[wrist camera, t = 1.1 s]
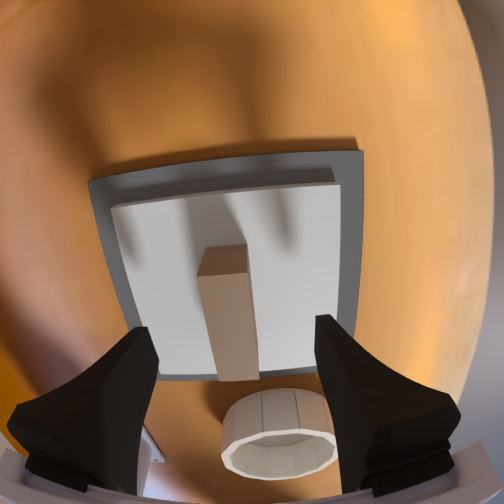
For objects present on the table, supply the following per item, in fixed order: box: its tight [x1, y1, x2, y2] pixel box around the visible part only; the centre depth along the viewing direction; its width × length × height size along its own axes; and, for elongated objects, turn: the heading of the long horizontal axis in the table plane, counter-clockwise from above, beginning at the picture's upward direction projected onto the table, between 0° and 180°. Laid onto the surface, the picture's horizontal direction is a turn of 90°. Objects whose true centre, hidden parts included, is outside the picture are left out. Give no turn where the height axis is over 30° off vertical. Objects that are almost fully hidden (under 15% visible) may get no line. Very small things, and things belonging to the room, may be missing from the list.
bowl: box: [221, 388, 338, 480], centre depth 21 cm, size 9×9×4 cm
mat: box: [88, 150, 364, 381], centre depth 17 cm, size 14×14×1 cm
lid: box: [111, 182, 341, 382], centre depth 15 cm, size 11×11×4 cm
